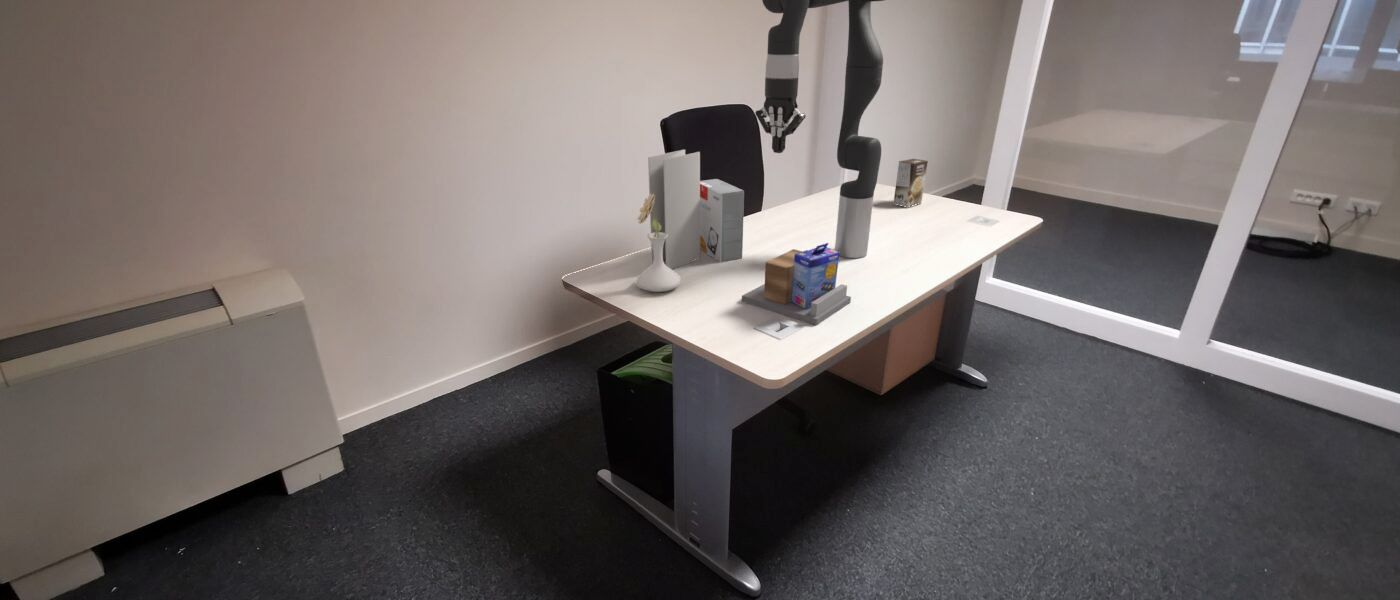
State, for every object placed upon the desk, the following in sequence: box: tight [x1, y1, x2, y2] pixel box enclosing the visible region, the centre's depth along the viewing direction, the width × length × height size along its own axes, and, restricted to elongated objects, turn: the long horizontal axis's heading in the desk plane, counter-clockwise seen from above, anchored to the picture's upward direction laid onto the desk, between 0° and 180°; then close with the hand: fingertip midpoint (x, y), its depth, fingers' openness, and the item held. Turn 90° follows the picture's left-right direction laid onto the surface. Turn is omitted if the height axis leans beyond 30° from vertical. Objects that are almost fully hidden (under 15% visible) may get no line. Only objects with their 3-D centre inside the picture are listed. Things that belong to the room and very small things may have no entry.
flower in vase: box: [635, 193, 682, 293], centre depth 152 cm, size 13×11×25 cm
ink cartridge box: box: [791, 242, 840, 309], centre depth 143 cm, size 10×6×14 cm, turn 127°
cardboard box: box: [764, 249, 803, 305], centre depth 148 cm, size 12×6×9 cm, turn 140°
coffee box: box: [892, 158, 929, 208], centre depth 227 cm, size 9×6×16 cm
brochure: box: [647, 149, 701, 270], centre depth 168 cm, size 14×6×30 cm, turn 141°
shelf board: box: [741, 283, 852, 326], centre depth 149 cm, size 16×20×4 cm
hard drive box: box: [700, 178, 745, 263], centre depth 178 cm, size 16×8×20 cm, turn 27°
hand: (778, 152), depth 149 cm, fingers closed
